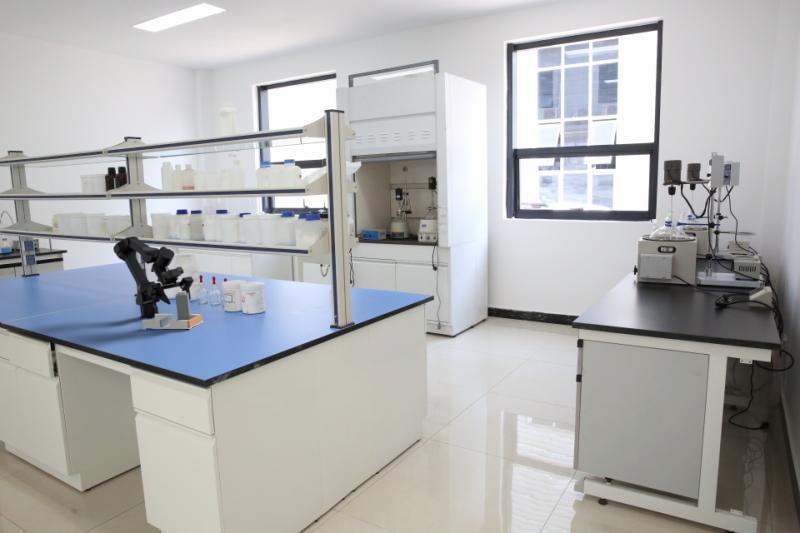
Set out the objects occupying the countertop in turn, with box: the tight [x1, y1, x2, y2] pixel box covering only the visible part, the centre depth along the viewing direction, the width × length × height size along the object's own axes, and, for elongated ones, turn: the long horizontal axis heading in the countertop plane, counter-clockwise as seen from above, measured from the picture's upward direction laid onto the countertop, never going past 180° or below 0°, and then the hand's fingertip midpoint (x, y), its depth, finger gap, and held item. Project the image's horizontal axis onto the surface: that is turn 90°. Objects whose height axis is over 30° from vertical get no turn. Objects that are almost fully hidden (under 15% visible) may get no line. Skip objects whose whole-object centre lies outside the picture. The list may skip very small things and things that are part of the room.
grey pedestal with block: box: [175, 290, 192, 320], centre depth 222 cm, size 4×4×14 cm
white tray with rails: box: [140, 313, 204, 329], centre depth 224 cm, size 22×11×4 cm, turn 80°
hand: (180, 301), depth 223 cm, fingers open, 9 cm apart
